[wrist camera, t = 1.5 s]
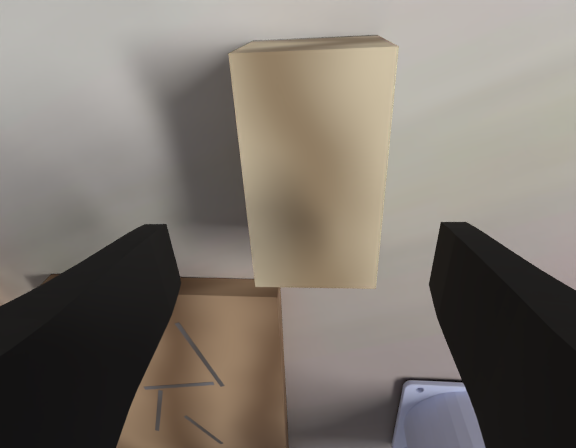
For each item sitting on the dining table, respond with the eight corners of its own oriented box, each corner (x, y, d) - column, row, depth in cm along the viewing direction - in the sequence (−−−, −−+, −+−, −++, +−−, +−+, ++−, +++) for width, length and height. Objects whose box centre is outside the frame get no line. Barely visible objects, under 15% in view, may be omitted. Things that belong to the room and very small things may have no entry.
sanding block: (376, 34, 15) (398, 46, 11) (364, 226, 20) (375, 288, 15) (254, 40, 15) (228, 53, 11) (269, 226, 20) (255, 286, 16)
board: (279, 279, 22) (277, 297, 20) (289, 464, 32) (288, 484, 30) (51, 274, 23) (35, 290, 21) (131, 454, 33) (123, 473, 31)
